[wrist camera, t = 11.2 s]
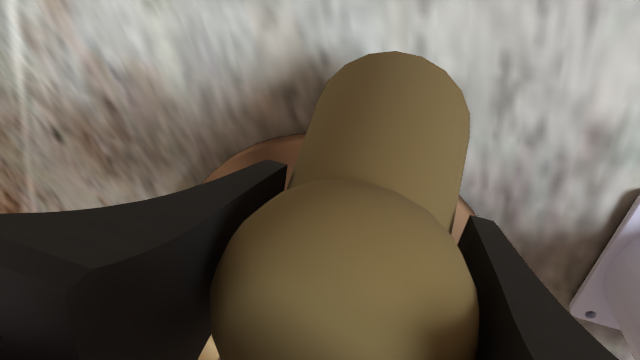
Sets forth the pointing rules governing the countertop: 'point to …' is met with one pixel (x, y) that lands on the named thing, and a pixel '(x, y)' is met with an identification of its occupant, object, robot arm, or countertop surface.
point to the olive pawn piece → (359, 230)
